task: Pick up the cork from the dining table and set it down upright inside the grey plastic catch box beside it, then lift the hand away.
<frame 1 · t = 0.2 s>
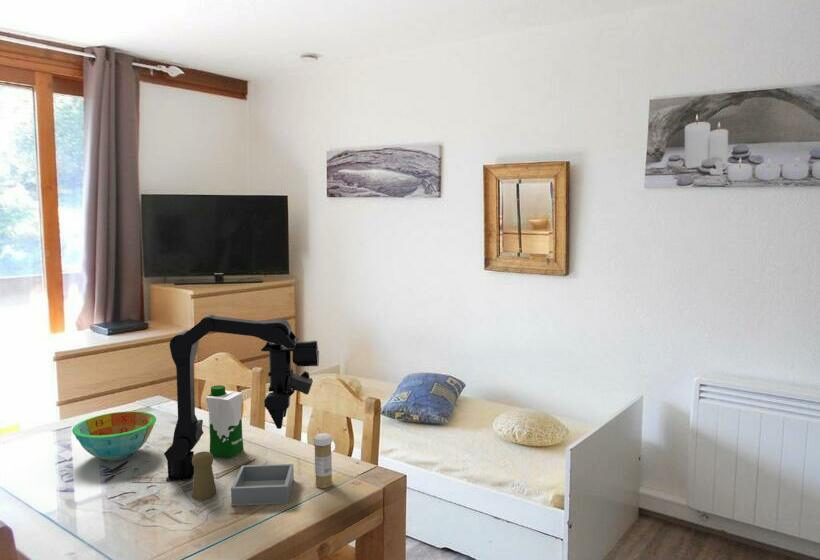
hand: (281, 422, 173), 14 cm above the table, tool pointing down, fingers open, 9 cm apart
milk carton: (227, 454, 188), on the table
cork: (204, 495, 162), on the table
bowl: (117, 456, 187), on the table
catch box: (264, 492, 163), on the table
sprinkles bottle: (323, 485, 167), on the table
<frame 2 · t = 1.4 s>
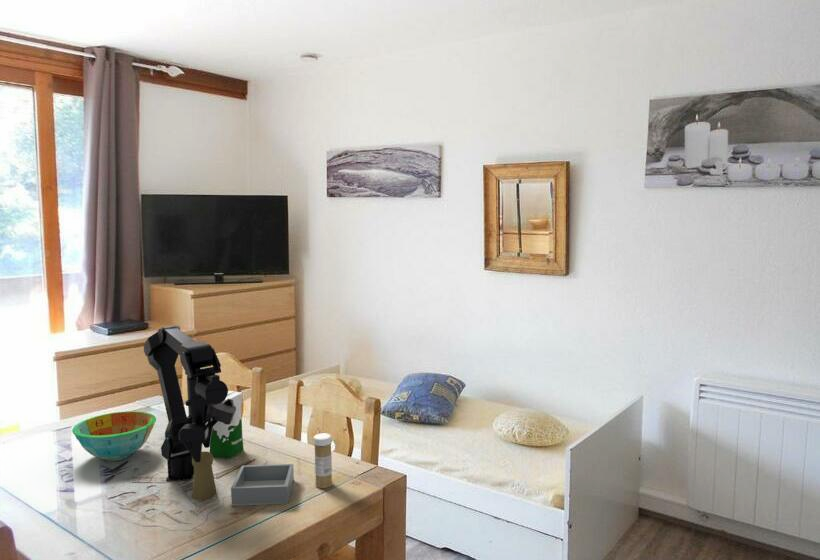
hand: (202, 454, 160), 11 cm above the table, tool pointing down, fingers open, 9 cm apart
nothing on the table moved.
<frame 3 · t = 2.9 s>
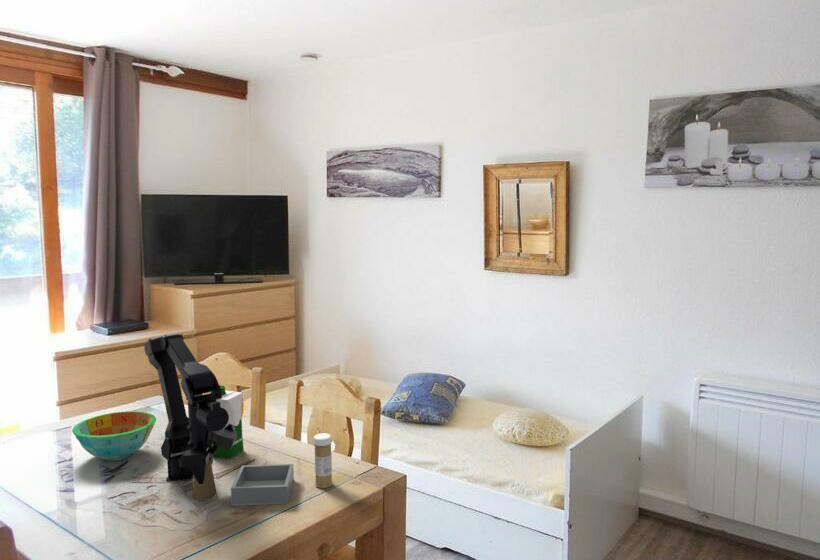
hand: (203, 479, 161), 4 cm above the table, tool pointing down, fingers closed on cork, 4 cm apart
cork: (204, 495, 162), on the table, touching gripper
everything else where it was.
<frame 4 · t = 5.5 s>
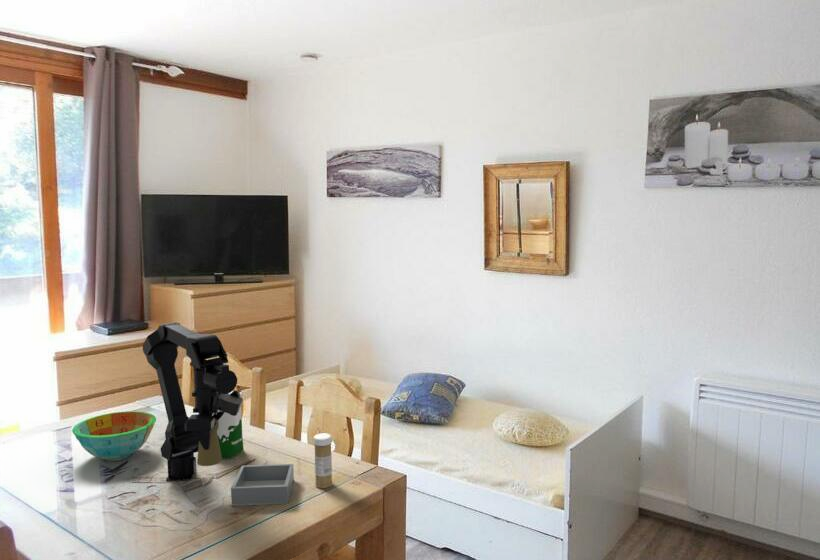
hand: (208, 445, 160), 13 cm above the table, tool pointing down, fingers closed on cork, 4 cm apart
cork: (209, 461, 161), point 9 cm above the table, touching gripper
everything else where it was.
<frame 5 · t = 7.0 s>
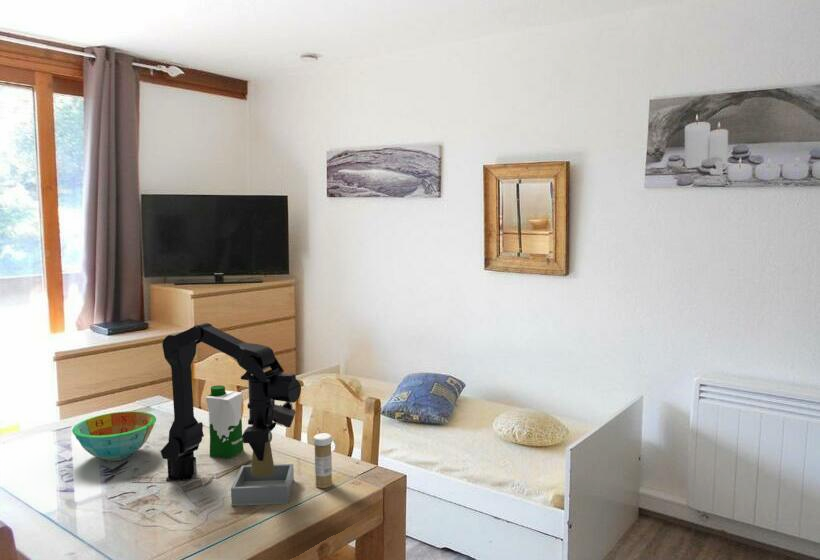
hand: (262, 456, 162), 9 cm above the table, tool pointing down, fingers closed on cork, 4 cm apart
cork: (262, 472, 162), point 5 cm above the table, touching gripper
everything else where it was.
when the fingers open (6 cm above the table, at t = 8.3 s): cork drops 1 cm, resting on catch box.
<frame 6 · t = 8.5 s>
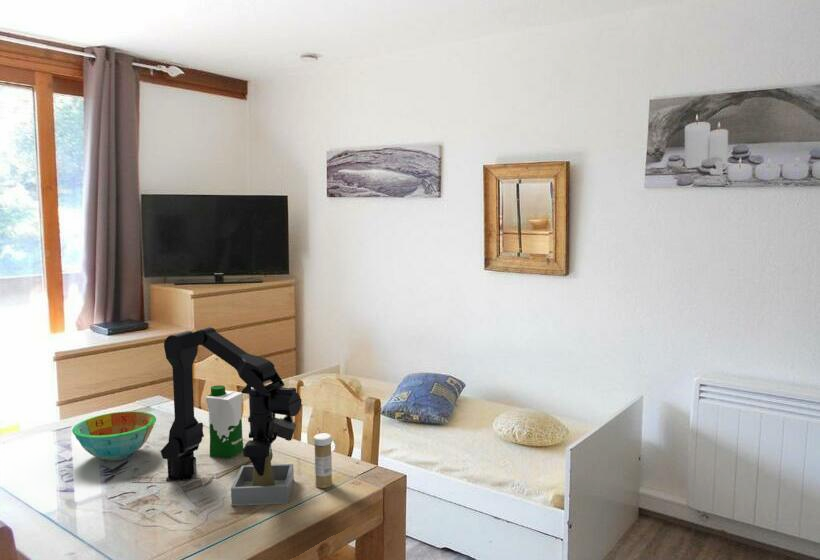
hand: (263, 470, 162), 6 cm above the table, tool pointing down, fingers open, 6 cm apart
cork: (263, 491, 163), resting on catch box
everything else where it was.
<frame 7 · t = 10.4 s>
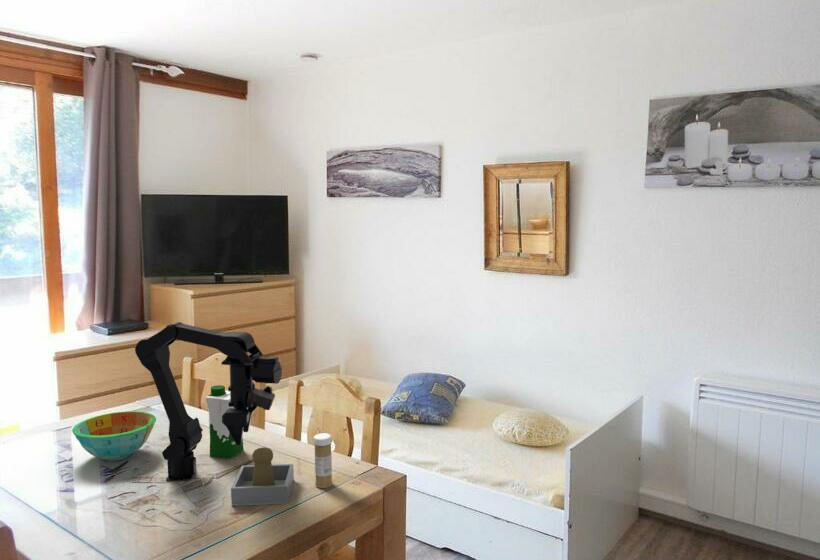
hand: (242, 438, 168), 12 cm above the table, tool pointing down, fingers open, 9 cm apart
nothing on the table moved.
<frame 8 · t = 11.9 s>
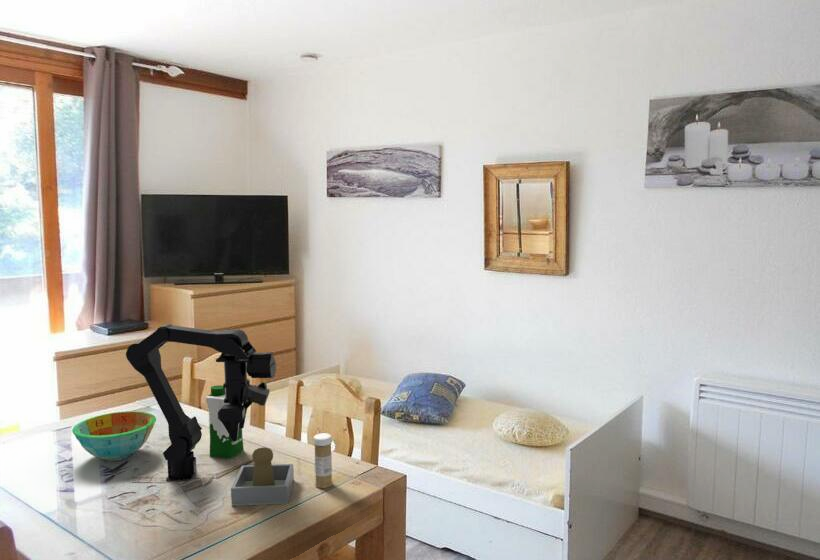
hand: (238, 434, 171), 12 cm above the table, tool pointing down, fingers open, 9 cm apart
nothing on the table moved.
at the end: cork inside the target area on the catch box (0.0 cm from its centre), point 0.3 cm above the catch box's base; cork tilted 0°; the gripper is holding nothing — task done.
